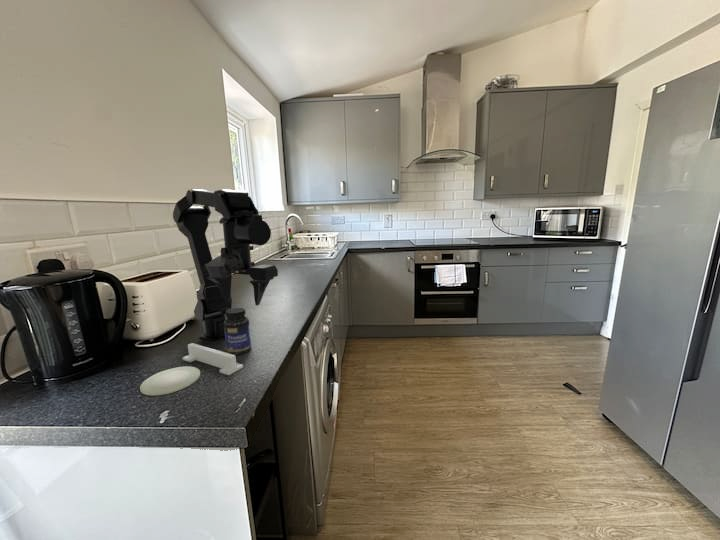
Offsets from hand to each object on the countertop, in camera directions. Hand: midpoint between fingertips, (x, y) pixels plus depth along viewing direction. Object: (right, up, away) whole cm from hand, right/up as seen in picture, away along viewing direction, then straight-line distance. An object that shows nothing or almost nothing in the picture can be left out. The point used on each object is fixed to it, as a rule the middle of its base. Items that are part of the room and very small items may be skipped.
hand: (242, 303), depth 76 cm
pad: (-11, -15, -12) cm, 22 cm away
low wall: (-6, -14, -4) cm, 16 cm away
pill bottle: (-2, -13, +3) cm, 13 cm away
